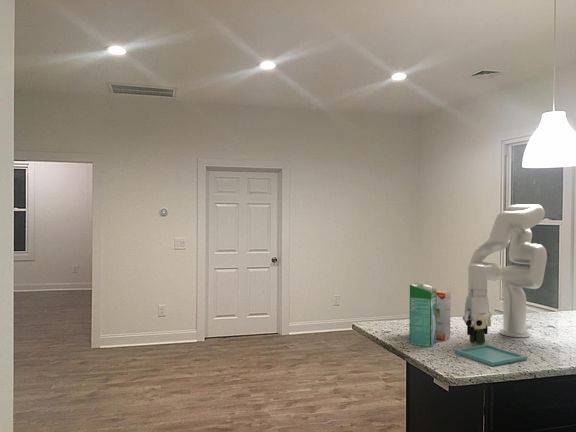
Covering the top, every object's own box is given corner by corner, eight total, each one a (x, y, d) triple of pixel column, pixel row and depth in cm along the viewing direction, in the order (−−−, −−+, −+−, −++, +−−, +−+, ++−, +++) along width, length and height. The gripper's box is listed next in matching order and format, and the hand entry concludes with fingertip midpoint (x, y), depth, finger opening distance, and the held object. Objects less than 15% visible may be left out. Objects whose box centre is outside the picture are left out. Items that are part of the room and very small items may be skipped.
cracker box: (415, 335, 210) (415, 289, 210) (421, 333, 214) (421, 287, 214) (444, 341, 200) (445, 292, 200) (450, 338, 205) (450, 291, 205)
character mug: (461, 342, 198) (461, 312, 198) (467, 339, 203) (467, 309, 203) (488, 347, 191) (488, 315, 191) (493, 343, 196) (493, 313, 196)
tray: (487, 348, 190) (487, 344, 190) (526, 360, 174) (526, 356, 174) (454, 353, 182) (454, 349, 182) (492, 366, 166) (492, 362, 166)
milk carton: (430, 347, 191) (431, 286, 191) (409, 343, 196) (409, 284, 196) (436, 342, 198) (436, 283, 199) (415, 339, 203) (415, 282, 203)
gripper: (485, 290, 204) (484, 330, 204) (455, 292, 197) (455, 334, 197) (499, 293, 198) (499, 334, 197) (469, 295, 190) (469, 338, 190)
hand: (477, 334), depth 197 cm, fingers closed on character mug, 7 cm apart
